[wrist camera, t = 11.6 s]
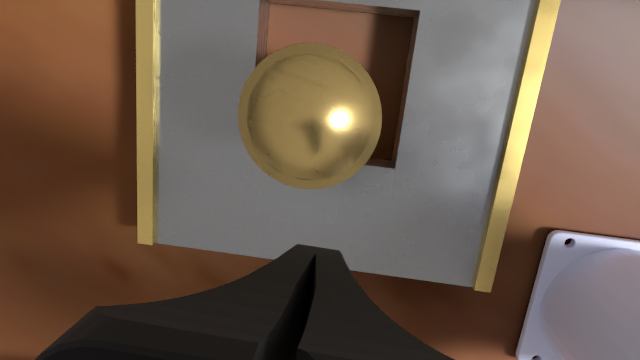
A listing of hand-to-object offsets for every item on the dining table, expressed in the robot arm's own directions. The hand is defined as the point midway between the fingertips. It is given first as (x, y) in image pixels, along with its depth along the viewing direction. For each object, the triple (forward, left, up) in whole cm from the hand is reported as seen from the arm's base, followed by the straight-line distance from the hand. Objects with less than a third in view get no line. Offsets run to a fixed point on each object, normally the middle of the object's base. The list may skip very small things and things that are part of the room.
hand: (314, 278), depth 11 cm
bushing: (+1, -4, -10) cm, 11 cm away
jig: (+1, -5, -10) cm, 12 cm away
